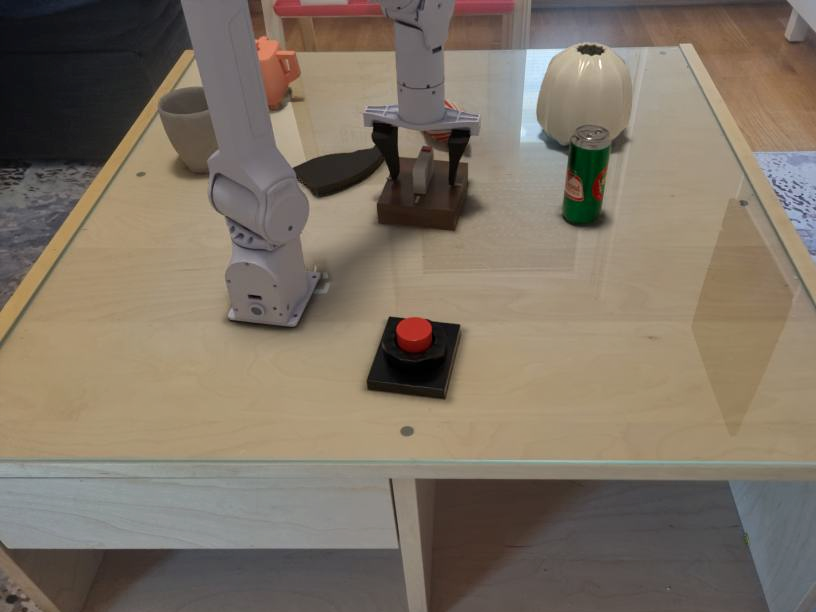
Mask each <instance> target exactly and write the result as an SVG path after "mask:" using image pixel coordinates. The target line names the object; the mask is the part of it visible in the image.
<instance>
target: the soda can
mask: <svg viewBox="0 0 816 612" xmlns="http://www.w3.org/2000/svg"><path fill="white" fill-rule="evenodd" d="M612 146H613V140H611V138H610V132H609V131H608V130H607V129H606V128H604V127H602V126H599V125H593V124H587V125H581V126H579V127H577V128H576V129H575V131H574V134H573V135H572V136H571V138H570V145H568V156H567V164H566V172H565V180H564V181H565V182H564V188H563V189H564V190H563V197H562V206H561V214H562V215H563V217H564V218H565V220H567V221H568V222H570V223H572V224H574V225H579V226H587V225H591V224H593V223H595V222H596V221H598V220H599V218H600V217H601V214H602V209H603V208H602V207H603V203H604V195H605V188H606V184H607V176H608V171H609V170H608V169H609V164H610V158H611V152H612Z"/></svg>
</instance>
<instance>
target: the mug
mask: <svg viewBox="0 0 816 612" xmlns="http://www.w3.org/2000/svg"><path fill="white" fill-rule="evenodd" d="M156 105H157V111H158V115H159V118H160V121H161V123H162V127H163V129H164V132H165V134H166V136H167V138H168V140H169V142H170V144H171V146H172V148H173V149H174V150H175V153H176V154H177V155H178V157H180V158H181V160H182V161H183V162H184V163H185V164H186V166H187V168H188V169H189V171H192V172H194V173H201V174H203V173H209V167H208V164H207V160H208V159H209V158H210V157H211V155H212V154H213V153H215V152H216V151H217V150H218V149H219V148H218V144H217V140H216V136H215V132H214V128H213V124H212V120H211V116H210V113H209V109H208V105H207V101H206V97H205V93H204V89H203V86H201V85H199V86H197V85H196V86H185V87H181V88H177V89H174V90H172V91H169V92H166V93H165V94H164V95H162V96H161V97H160V98H159V100H158V102H157V104H156Z"/></svg>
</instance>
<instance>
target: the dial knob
mask: <svg viewBox="0 0 816 612" xmlns="http://www.w3.org/2000/svg"><path fill="white" fill-rule="evenodd" d="M434 149H435V148H434V147H433V145H431V146H430V145H422V146H421V148H420V151H419V153H418V156H417V157H416V158H417V160H416V163H415V165H414V168H413V189H414V193H418V194H426V191H427V189H428V186H429V183H430V180H431V178H432V175H433V172H434V160H435V154H434V153H435V152H434V151H435V150H434Z"/></svg>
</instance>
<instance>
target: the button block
mask: <svg viewBox="0 0 816 612" xmlns="http://www.w3.org/2000/svg"><path fill="white" fill-rule="evenodd" d="M406 318H407V317H399V316H388V318H387V321H386V324H385V327H384V330H383V332H382V335H381V338H380V341H379V344H378V346H377V350H376V353H375V355H374V358H373V360H372V364H371V367H370V369H369V372H368V375H367V377H366V388H367V389H369V390H375V391H376V390H377V391H385V392H391V393H399V394H400V393H401V394H408V395H416V396H424V397H432V398H433V397H434V398H441V399H445V398H446V393H447V389H448V386H449V381H450V378H451V373H452V369H453V366H454V365H453V364H454V361H455V357H456V352H457V349H458V344H459V339H460V335H461V330H462V329H461V328H462V327H461V326H462V325H461V324H460V323H453V322H452V323H451V322H443V321H435V320H431V319H429V318H424V319H425V320H427V321H428V322H429V323H430V324H431V327H432V344H431V345H430V347H429V348H428V349H426V350H425V351H422V352H419V353H410V352H406V351H404V350H402V349H401V348H400V347H399V346H398V343H397V331H396V328H397V325H398V324H399V323H400V322H401V321H402V320H404V319H406Z"/></svg>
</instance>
